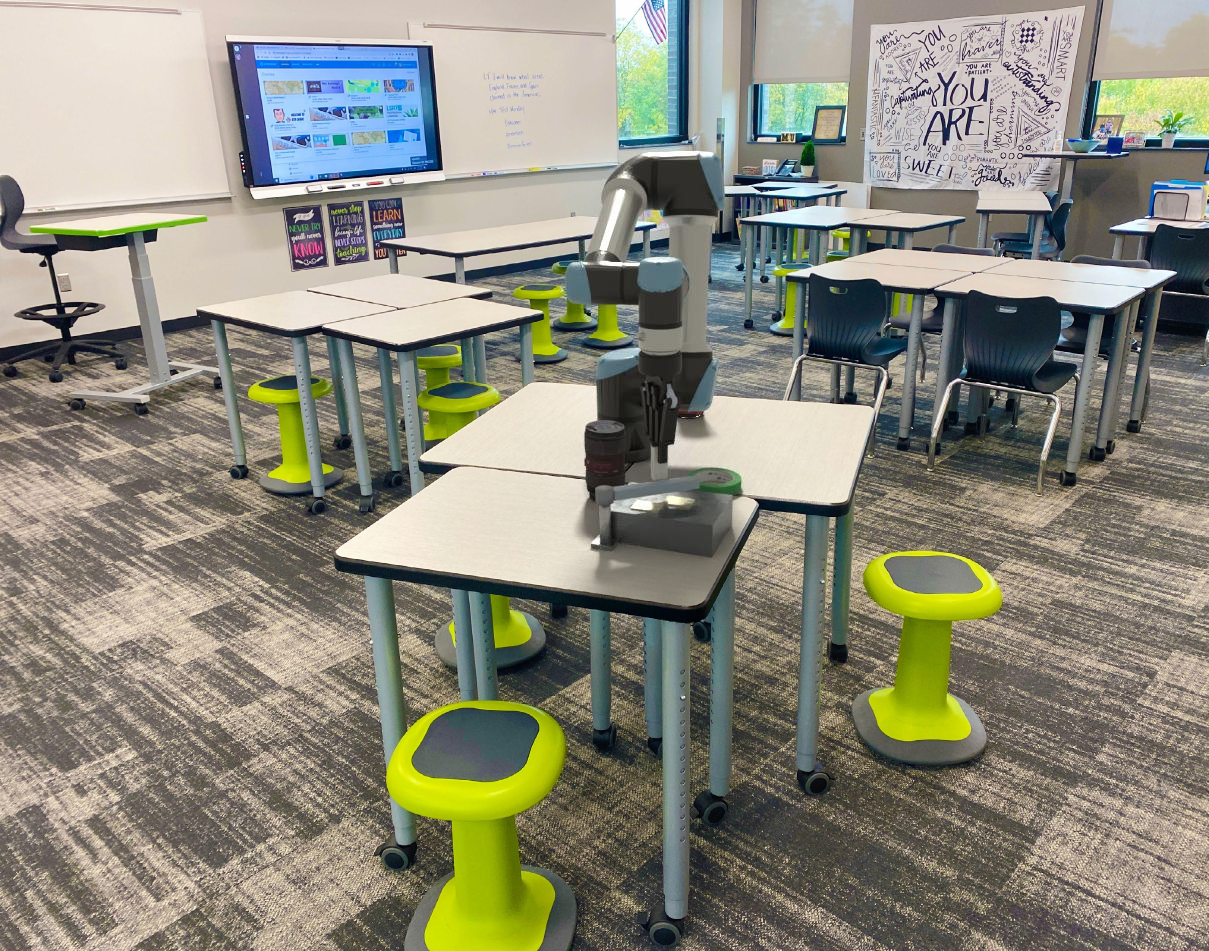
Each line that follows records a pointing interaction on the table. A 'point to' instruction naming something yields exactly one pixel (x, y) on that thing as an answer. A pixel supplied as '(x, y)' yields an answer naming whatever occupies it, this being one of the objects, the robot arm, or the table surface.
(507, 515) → the table surface
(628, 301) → the robot arm
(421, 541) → the table surface
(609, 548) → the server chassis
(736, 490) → the tape roll
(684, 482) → the bar
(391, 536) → the table surface
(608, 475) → the camera lens
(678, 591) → the table surface
